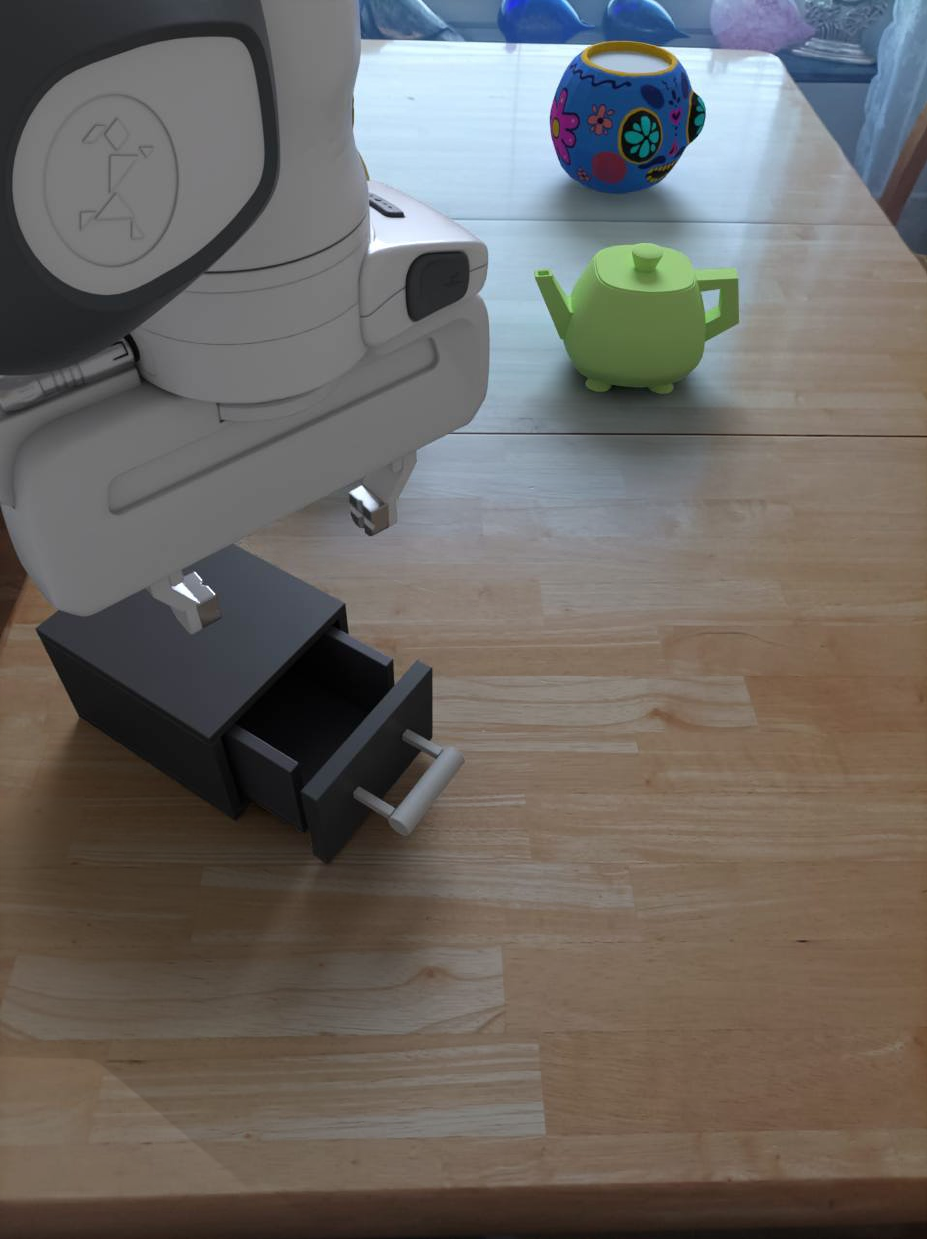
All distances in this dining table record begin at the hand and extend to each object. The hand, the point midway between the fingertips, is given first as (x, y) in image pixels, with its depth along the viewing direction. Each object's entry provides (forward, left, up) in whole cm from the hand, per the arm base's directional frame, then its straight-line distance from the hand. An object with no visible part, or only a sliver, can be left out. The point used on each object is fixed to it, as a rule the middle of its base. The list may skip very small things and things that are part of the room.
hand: (290, 568), depth 42 cm
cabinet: (+3, +13, -24) cm, 27 cm away
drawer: (+3, +3, -23) cm, 23 cm away
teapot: (+57, +8, -24) cm, 62 cm away
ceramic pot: (+93, +28, -24) cm, 100 cm away
